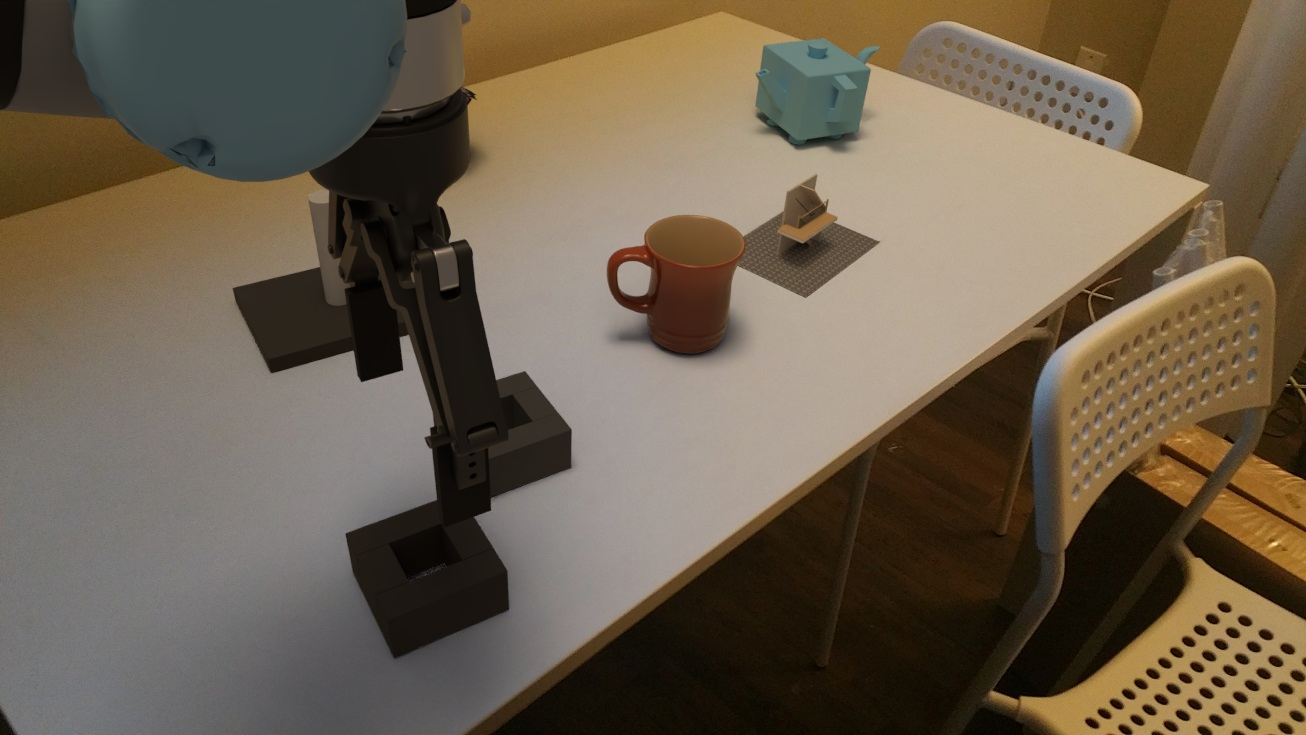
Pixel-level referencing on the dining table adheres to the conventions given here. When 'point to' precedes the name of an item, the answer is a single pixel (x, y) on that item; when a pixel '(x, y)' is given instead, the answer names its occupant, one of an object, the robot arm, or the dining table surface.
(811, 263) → the architectural model
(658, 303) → the mug
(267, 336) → the base pad
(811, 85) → the teapot
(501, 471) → the grey square-holed block
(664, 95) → the dining table surface
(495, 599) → the dark block with hole
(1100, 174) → the dining table surface
